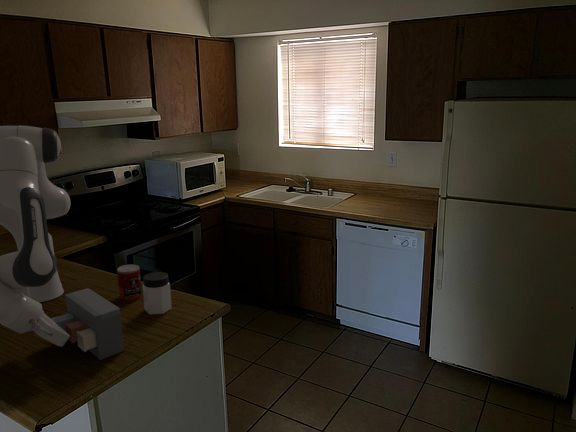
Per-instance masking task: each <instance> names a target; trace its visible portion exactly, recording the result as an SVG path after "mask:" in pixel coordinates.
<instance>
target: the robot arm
mask: <svg viewBox="0 0 576 432" xmlns="http://www.w3.org/2000/svg"><path fill="white" fill-rule="evenodd" d="M61 151H62V142H61V138H60V137H59V135H58V133H57V131H56V130H54V129H52V128H48V127H43V128H42V127H38V126H37V127H36V126H32V125H31V126H30V125H21V124H20V125H0V226H2V227H3V228H5V229H6V230H7V231H9V232H10V234H11V235H12V237H13V238H14V240H15V244H16V248H17V251H13V252H10V253H9V252H8V253H6V254H2V255H0V324H1V325H2V326H3V327H5V328H7V329H10V330H12V332H13V331H14V332H16V333H18V334H25V333H27V332H34V333H35V334H36V335H38V337H40V338H42V339H44V340H45V341H47V342H50V343H51V344H53V345H55V346H57V347H60V348H62V347H64V346H65V344H66V343H67V341H69V338H70V335H69V334H68V333H67V332H66V331H64V330H63V329H62V328H61V327H60V326H58V325H57V324H56V323H55V322H54V321H53V320H52V319H51V318H50V317H49V316H48V315H47V314H46V313H45V312H44V310H43V305H42V302H47V301H52V300H54V299H56V298H58V297H60V296H62V295H63V294H64V292H65V290H64V288H63V285H62V284H63V283H61V279H60V276H59V272H58V269H57V266H58V263H57V262H58V261H57V255H55V251H54V242H53V241H54V240H53V237H52V235H51V234H50V233H49V231H48V230H49V228H48V222H47V221H48V220H50V219H51V220H52V219H56V218H59V217H62V216H65V215H67V213H68V212H69V210H70V208H71V204H72V203H71V197H70V195H69V194H68V192H67V191H66V190H65V189H64V188H62V187H58V186H57V185H55V184H54V183H52V182H51V181H50V179H49V178H48V177H47V176H48V175H47V172H46V171H47V170H46V165H45V164H49V163H50V164H51V163H53V162H56V160H58V159H59V156H60V154H61Z"/></svg>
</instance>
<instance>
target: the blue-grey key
mask: <svg viewBox="0 0 576 432" xmlns="http://www.w3.org/2000/svg"><path fill="white" fill-rule="evenodd" d="M50 319H52V320H53V321H54V322H55V323H56V324H57V325H58V326H60V327H61V328H62V329H63V330H64V331H66V326H65V324H66V323H67V324H69V323H73V322H76V321H75V316H74V315H73V314H71V313H68V314H67V313H64V314H61V315H59V316H56V317H52V318H50Z"/></svg>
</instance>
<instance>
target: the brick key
mask: <svg viewBox="0 0 576 432" xmlns="http://www.w3.org/2000/svg"><path fill="white" fill-rule="evenodd" d="M65 326H66V332H67V333H68V334H69V335H70V338H69V339H68V341H70V342H71V343H72V344H75V343H76V342H78V341H77V333H76V332H77V331H79V332H80V331H83V330H86V329H85V324H84V323H83V322H82V321H80V320H79V321H76V322H73V323H69V324H67V323H66V324H65Z"/></svg>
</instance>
